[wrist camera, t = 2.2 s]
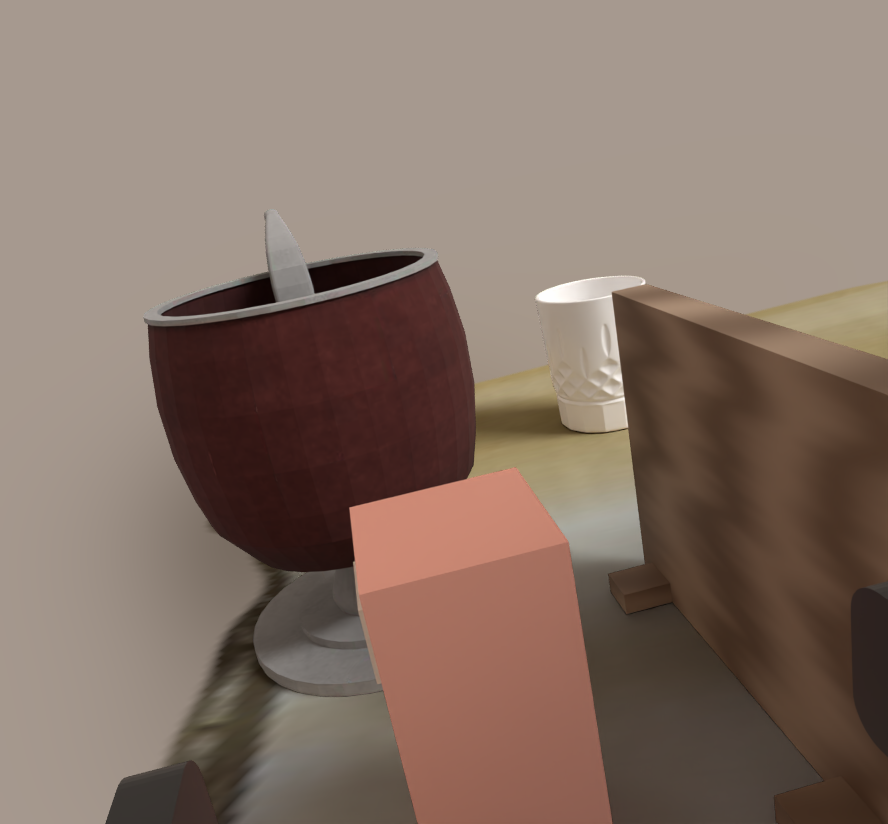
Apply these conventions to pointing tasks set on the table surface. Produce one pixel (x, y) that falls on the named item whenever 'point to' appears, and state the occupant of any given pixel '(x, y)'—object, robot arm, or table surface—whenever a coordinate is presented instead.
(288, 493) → the mate gourd
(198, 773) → the robot arm
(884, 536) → the walnut screen
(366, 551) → the marked block
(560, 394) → the white cup
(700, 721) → the table surface
